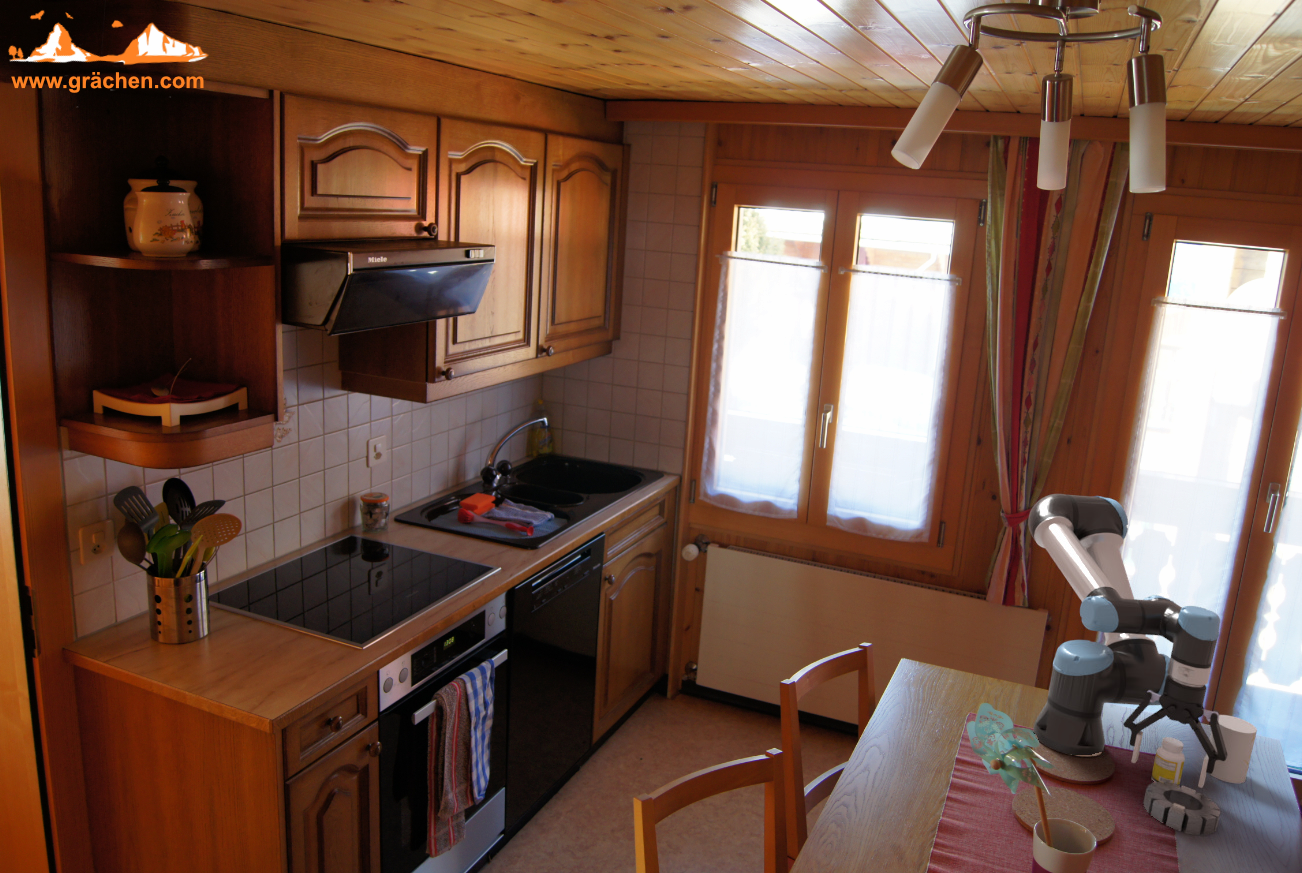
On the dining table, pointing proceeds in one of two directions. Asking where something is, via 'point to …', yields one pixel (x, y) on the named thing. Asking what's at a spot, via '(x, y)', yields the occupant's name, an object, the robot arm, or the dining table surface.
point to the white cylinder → (1234, 749)
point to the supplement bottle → (1168, 762)
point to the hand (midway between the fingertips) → (1167, 772)
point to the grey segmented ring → (1182, 808)
